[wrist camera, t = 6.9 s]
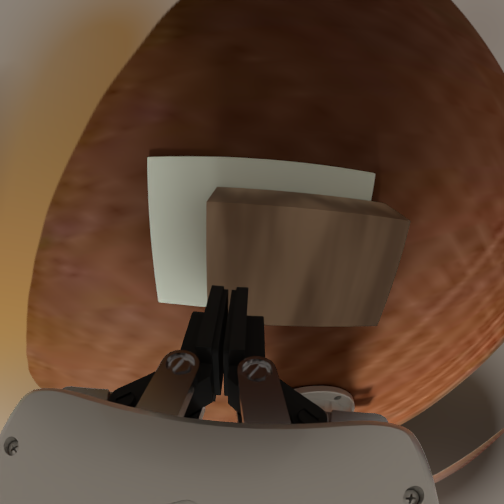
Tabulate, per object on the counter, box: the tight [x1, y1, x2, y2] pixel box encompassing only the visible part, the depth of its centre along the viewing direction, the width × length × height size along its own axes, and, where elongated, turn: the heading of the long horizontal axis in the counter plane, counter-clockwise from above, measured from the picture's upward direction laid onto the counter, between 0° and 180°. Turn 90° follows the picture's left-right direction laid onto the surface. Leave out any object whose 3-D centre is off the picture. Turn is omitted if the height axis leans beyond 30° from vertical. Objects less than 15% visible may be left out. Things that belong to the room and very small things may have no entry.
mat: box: [147, 156, 375, 307], centre depth 20 cm, size 16×12×1 cm
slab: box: [206, 187, 410, 327], centre depth 18 cm, size 4×8×12 cm
